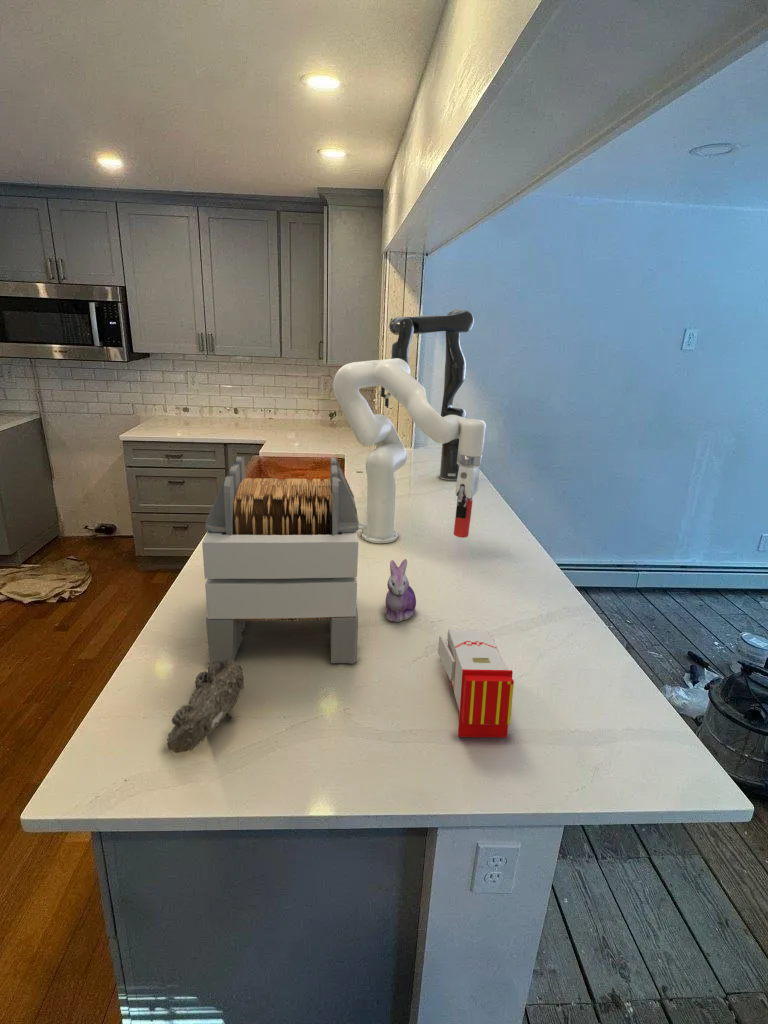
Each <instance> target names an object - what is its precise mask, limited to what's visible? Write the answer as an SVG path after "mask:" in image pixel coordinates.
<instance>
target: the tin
mask: <svg viewBox="0 0 768 1024" xmlns="http://www.w3.org/2000/svg"><path fill="white" fill-rule="evenodd" d="M463 500H464V501H465V499H464V498H463ZM466 506H467V513H466V518H465V519H463V518H458V517H456V516H455V517H454V526H453V535H454V536H455V537H456V538H468V537H469V534H470V526H471V517H472V509H473V498H472V499H471V498H470V499H469V498H468V499H467V504H466ZM455 508H457V506H456V507H455Z"/></svg>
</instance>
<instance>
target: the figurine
mask: <svg viewBox="0 0 768 1024" xmlns="http://www.w3.org/2000/svg"><path fill="white" fill-rule="evenodd" d="M407 567H408V559H406V558H404V559H403V560H402V561H401V563H400V565H399V566H398V565H397V563H396V562H395V561H394V560H393V559H391V560H390V561H389V570H390V576H389V578H388V579H387V589H388V591H387V592H386V594H385V595H386V596H385V607H384V615H385V616H386V620H387V621H391V622H395V623H400V622H402V621H406V620H409V619H410V618H411V617H413V616H414V615H415V610H416V606H417V597H416V593H415V591H414V590H413V587H411V586H410V582H409V579H408V577H407V574H406V571H407Z"/></svg>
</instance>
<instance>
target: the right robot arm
mask: <svg viewBox="0 0 768 1024" xmlns="http://www.w3.org/2000/svg"><path fill="white" fill-rule="evenodd" d="M474 323H475V319H474V314H473V313H471V312H470V311H468V310H466V309H451V310H449V311H448V312H447V314H446V315H438V314H437V315H435V314H434V315H433V314H429V315H428V314H427V315H415V316H395V317H393V318H392V319H391V320H390V322H389V325H388V328H389V331H390V332H391V334H393V335H395V336H398V337H397V341H394V342H393V343H392V345H391V358H390V359H394V358H399V359H402V360H404V361H405V362H406V363H407V364H408V365H409V366H410V359H409V358H410V346H411V343H412V340H413V336H414V335H422V334H432V333H439V332H445V362H444V379H443V380H444V382H443V395H442V403H441V409H440V415H441V416H442V417H445V416H447V415H457V416H460V417H464V418H467V412H466V410H465V409H463V408H461V407H460V408H459V407H453V405H454V404H453V403H454V398H455V396H456V394H457V392H458V391H459V390H460V388H461V387H462V386H463V384H464V382H465V379H466V368H467V364H466V363H467V361H466V358H465V355H464V353H463V350H462V348H461V342H460V338H461V334H465V333H468V332H470V331H471V330H472V328H473V326H474ZM385 392H386V390H385V389H384V388H383V387H382V386H381V389H380V397H381V398H384V406H385V407H386V409H388V408H389V405H390V403H389V402H390V399H389V397H390V396H392V395H391V394H390V393H389V392H388V391H387V394H386V393H385ZM458 447H459V439H454V440H451V441H450V442H448V443H444V444H441V456H440V458H441V459H440V469H439V479H441V480H444V481H452V482H453V481H454V482H455V481H457V477H458V471H459V465H458V464H457V457H458Z"/></svg>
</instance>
